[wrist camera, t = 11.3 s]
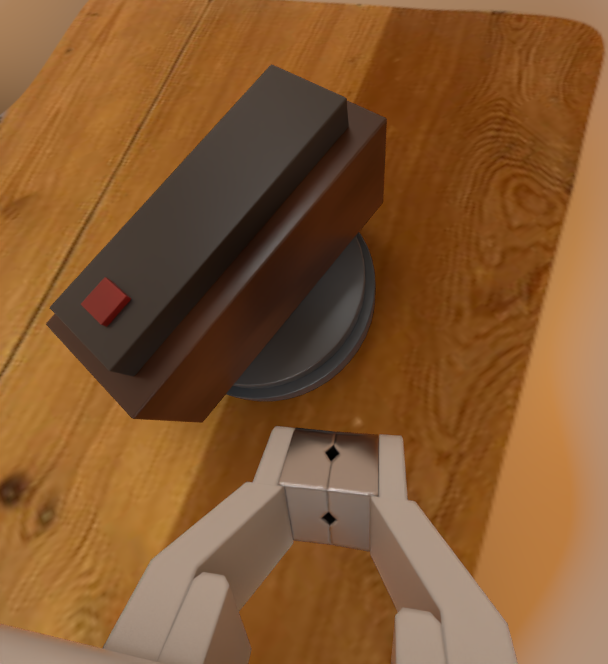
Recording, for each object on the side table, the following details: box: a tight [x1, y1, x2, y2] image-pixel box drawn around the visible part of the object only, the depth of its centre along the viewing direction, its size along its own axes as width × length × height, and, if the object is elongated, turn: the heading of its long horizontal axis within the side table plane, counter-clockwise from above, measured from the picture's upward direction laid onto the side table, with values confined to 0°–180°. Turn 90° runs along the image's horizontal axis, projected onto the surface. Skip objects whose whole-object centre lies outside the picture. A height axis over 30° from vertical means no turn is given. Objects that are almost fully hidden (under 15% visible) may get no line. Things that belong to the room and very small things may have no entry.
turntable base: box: [226, 232, 375, 401], centre depth 19 cm, size 12×12×2 cm
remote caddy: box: [46, 65, 387, 422], centre depth 15 cm, size 14×11×7 cm
